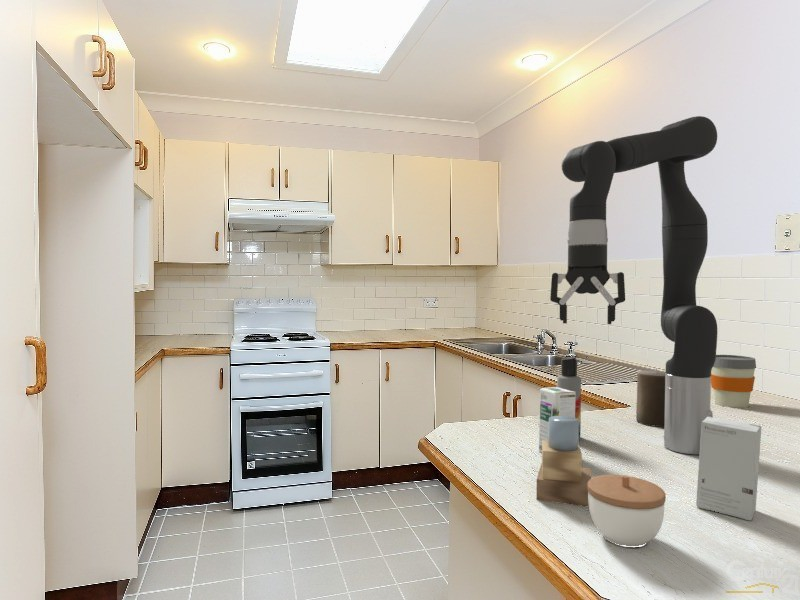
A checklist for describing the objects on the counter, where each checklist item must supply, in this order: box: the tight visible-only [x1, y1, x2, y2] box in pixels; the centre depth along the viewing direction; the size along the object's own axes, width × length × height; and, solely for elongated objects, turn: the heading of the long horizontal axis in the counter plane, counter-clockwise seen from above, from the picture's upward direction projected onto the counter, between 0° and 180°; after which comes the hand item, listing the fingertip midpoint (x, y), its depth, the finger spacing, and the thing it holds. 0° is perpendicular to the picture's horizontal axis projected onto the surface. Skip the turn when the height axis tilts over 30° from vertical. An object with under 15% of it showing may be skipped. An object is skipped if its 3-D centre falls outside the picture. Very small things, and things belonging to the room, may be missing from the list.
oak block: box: [541, 440, 583, 482], centre depth 95 cm, size 6×6×5 cm
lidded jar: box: [587, 474, 666, 546], centre depth 78 cm, size 11×11×9 cm
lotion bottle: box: [556, 356, 582, 440], centre depth 129 cm, size 6×6×20 cm
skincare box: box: [695, 416, 762, 521], centre depth 88 cm, size 8×6×15 cm
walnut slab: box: [535, 462, 592, 507], centre depth 95 cm, size 9×9×4 cm
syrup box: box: [538, 386, 576, 453], centre depth 117 cm, size 6×6×14 cm
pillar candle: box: [635, 367, 666, 428], centre depth 144 cm, size 10×10×15 cm
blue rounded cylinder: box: [548, 416, 580, 451], centre depth 95 cm, size 5×5×5 cm
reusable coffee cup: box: [711, 354, 757, 409], centre depth 165 cm, size 12×13×15 cm
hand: (586, 323), depth 107 cm, fingers open, 8 cm apart
